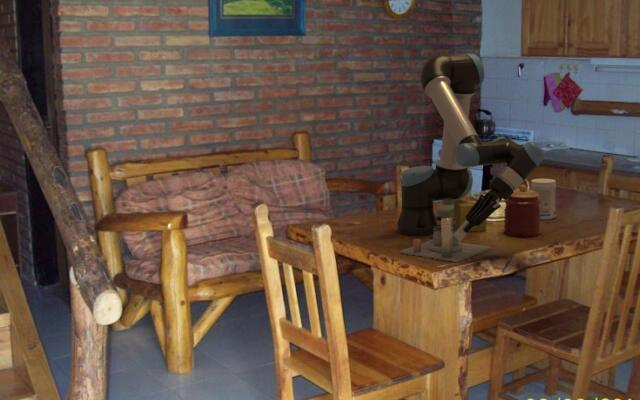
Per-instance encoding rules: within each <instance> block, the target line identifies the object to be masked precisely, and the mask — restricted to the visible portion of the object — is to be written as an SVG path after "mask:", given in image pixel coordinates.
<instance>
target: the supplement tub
mask: <svg viewBox="0 0 640 400" xmlns="http://www.w3.org/2000/svg"><path fill="white" fill-rule="evenodd" d="M530 190H534V191H535V192H536V193H538V194H539V196H538V199H540V200H541V203H540V209H541V217H540V220H552V219H555V217H556V207H557V202H556V201H557V199H556V198H557V180H556V179H552V178H534V179H531V181H530Z"/></svg>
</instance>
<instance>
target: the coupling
mask: <svg viewBox="0 0 640 400" xmlns="http://www.w3.org/2000/svg"><path fill="white" fill-rule="evenodd" d="M440 218H441V217H440ZM457 230H458V228H457V226H454V220H453V218H451V217H443V218H441V219H440V225H438V226H433V234H432V240H433V243H434V245H441V255H442V256H452V255H453V245H458V240H457V239H456V238H455V237H454V236H453V234H454V233H455V232H456V231H457Z"/></svg>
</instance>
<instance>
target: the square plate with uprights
mask: <svg viewBox="0 0 640 400" xmlns="http://www.w3.org/2000/svg"><path fill="white" fill-rule="evenodd" d="M491 250H492V246H487V245H486V246H485V245H480V244H473V243H467V242H462V241H458V245H453V255H452V256H442V255H441V245H434V243H433V239H431V240H428V241H424V242H422V239H420V238H414V239H413V246H409V247H407V248H405V249H401V250H399V251H398V252H399V254H400V253H404V254H403V255H406V254H410V255H409V256H412V255H416V256H415V257H418V256H422V257H421V258H424V257H427V258H426V259H430V258H434V259H433V260H436V259H440V260H439V261H441V260H446V261H445V262H447V261H452V262H451V263H453V262H458V263H460V262H459V261H461V262H463V261H465V260H464V259H466V260H468V259H471V258H473V257H475V256H474V255H476V256H478V255H481V254H483V253H486V252H488V251H491ZM480 253H481V254H480ZM477 254H478V255H477ZM472 256H473V257H472ZM470 257H471V258H470ZM467 258H468V259H467ZM462 260H463V261H462Z"/></svg>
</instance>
